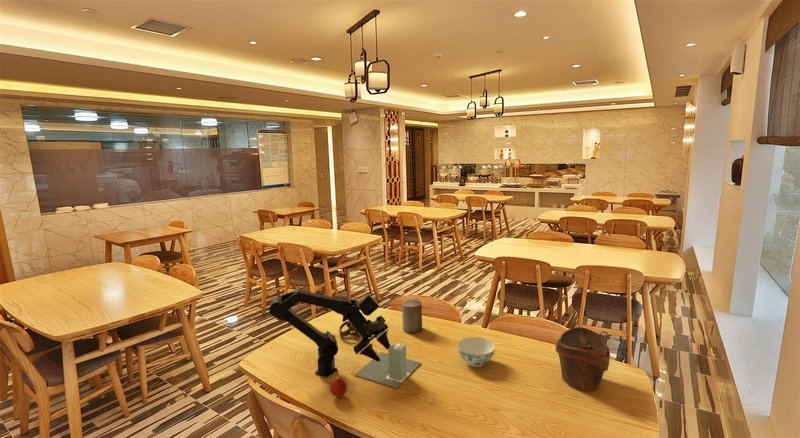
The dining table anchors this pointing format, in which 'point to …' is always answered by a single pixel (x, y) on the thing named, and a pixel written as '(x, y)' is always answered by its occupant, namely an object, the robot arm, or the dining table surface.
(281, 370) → the dining table surface
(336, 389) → the pomegranate
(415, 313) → the pillar candle
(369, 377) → the mat
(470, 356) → the chinaware
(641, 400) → the dining table surface
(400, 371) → the block
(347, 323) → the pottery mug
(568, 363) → the brown flower pot
